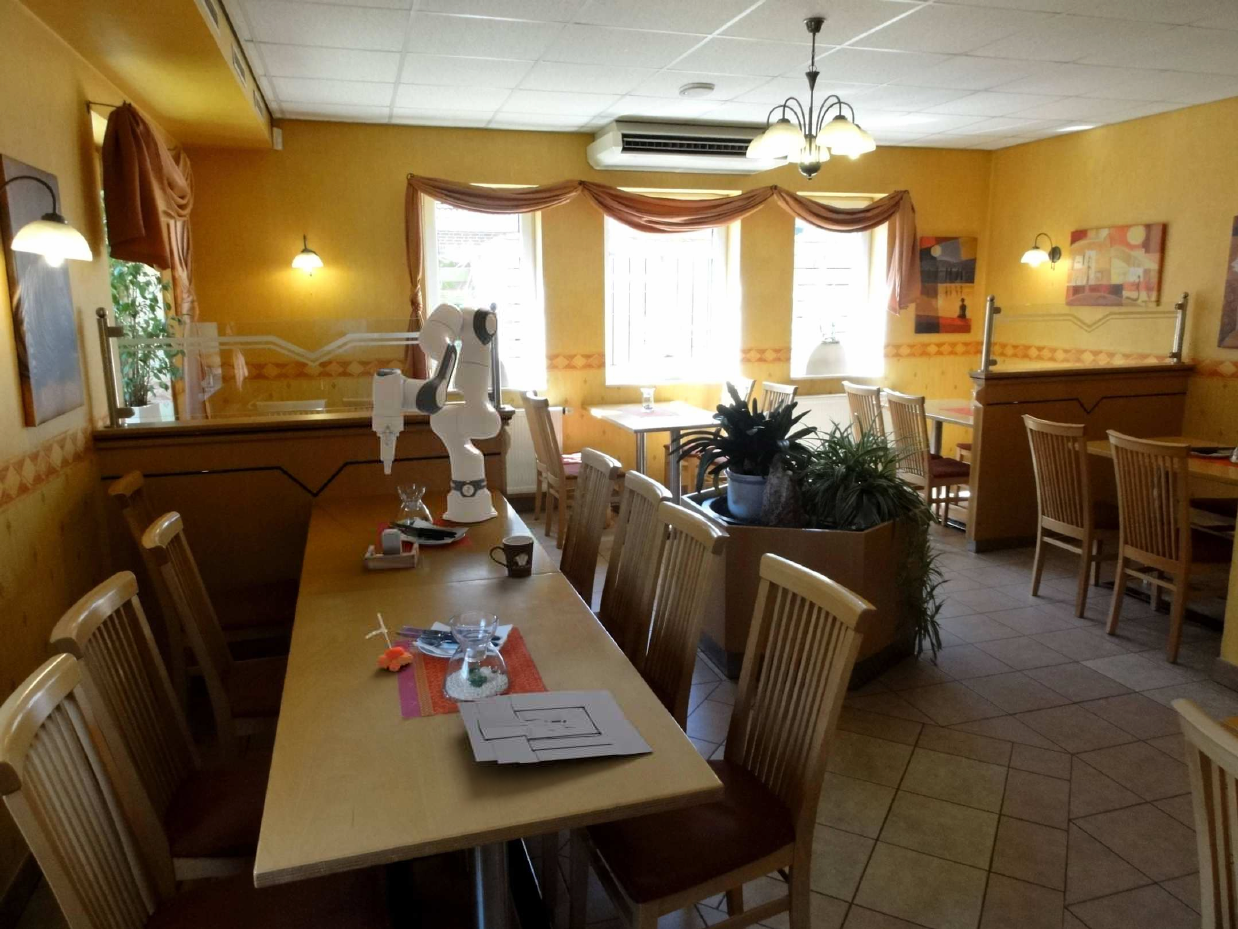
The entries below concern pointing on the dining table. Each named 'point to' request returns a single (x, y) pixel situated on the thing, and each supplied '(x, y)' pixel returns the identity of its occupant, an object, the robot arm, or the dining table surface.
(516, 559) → the coffee mug
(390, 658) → the orange flower
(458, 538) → the dining table surface
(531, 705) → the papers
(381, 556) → the bay
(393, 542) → the grey upright block
